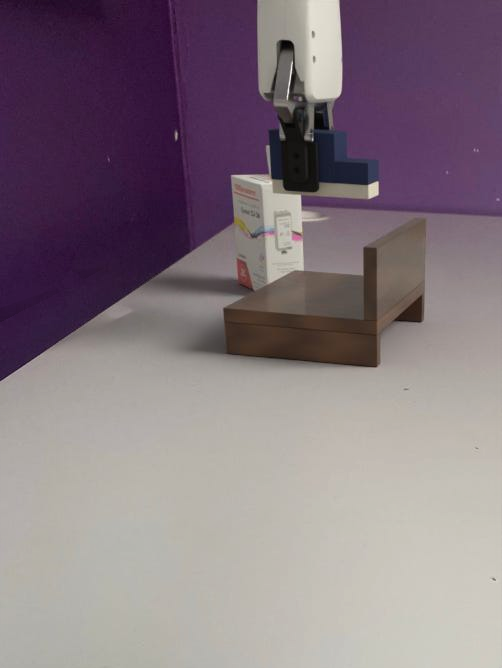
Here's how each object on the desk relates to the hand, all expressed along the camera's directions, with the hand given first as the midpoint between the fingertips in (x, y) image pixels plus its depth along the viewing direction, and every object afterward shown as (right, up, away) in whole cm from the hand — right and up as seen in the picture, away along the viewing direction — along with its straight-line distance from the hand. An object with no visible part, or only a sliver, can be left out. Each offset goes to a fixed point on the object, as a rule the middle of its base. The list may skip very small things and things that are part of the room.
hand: (309, 186), depth 95 cm
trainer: (+2, -1, 0) cm, 2 cm away
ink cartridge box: (-8, -1, +24) cm, 26 cm away
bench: (+1, -12, +6) cm, 13 cm away
